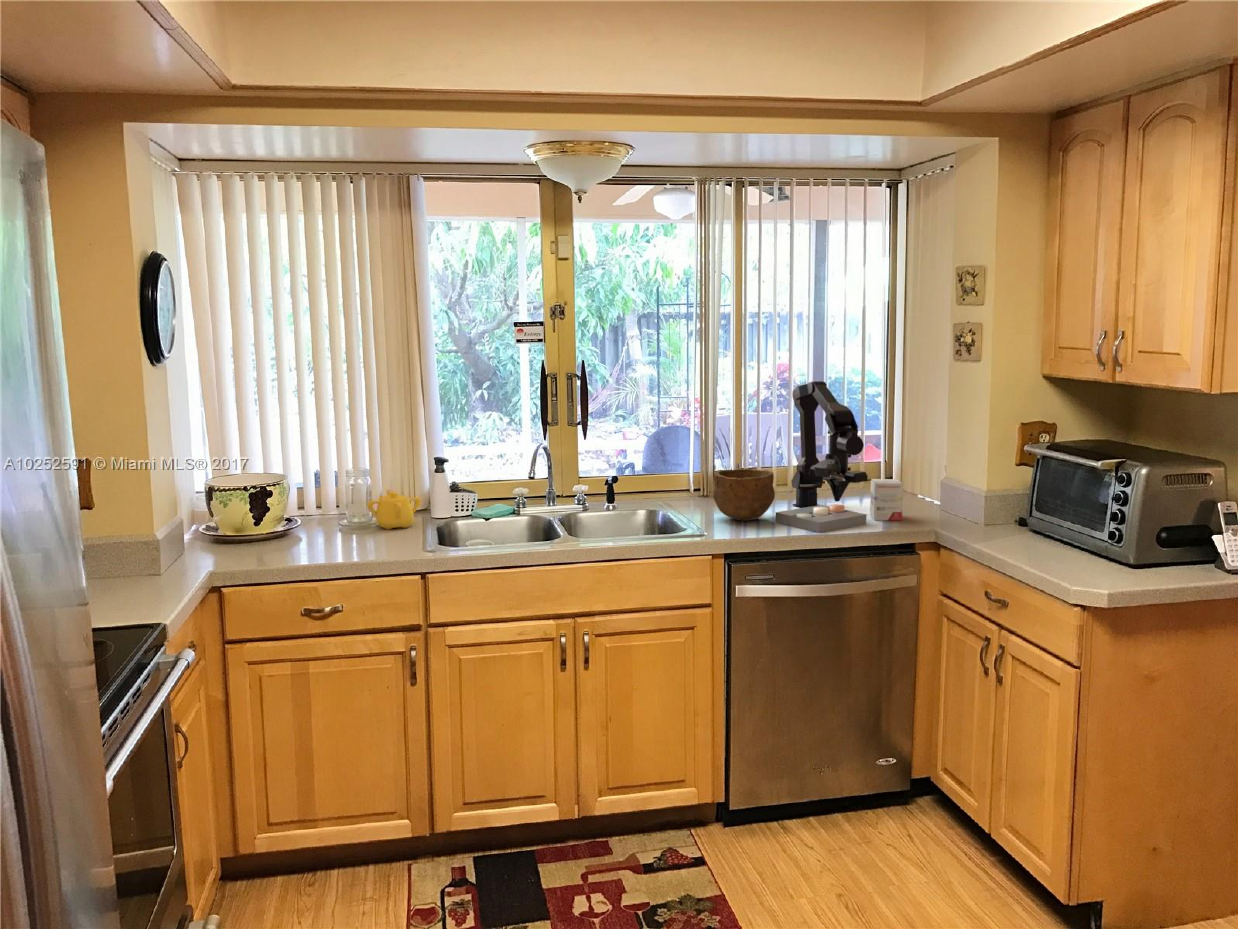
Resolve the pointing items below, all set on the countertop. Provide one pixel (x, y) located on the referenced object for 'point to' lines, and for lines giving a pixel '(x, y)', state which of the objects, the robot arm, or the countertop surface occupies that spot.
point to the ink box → (886, 499)
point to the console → (820, 519)
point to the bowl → (743, 492)
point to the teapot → (394, 510)
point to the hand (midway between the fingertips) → (837, 501)
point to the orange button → (837, 508)
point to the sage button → (804, 515)
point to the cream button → (820, 511)
